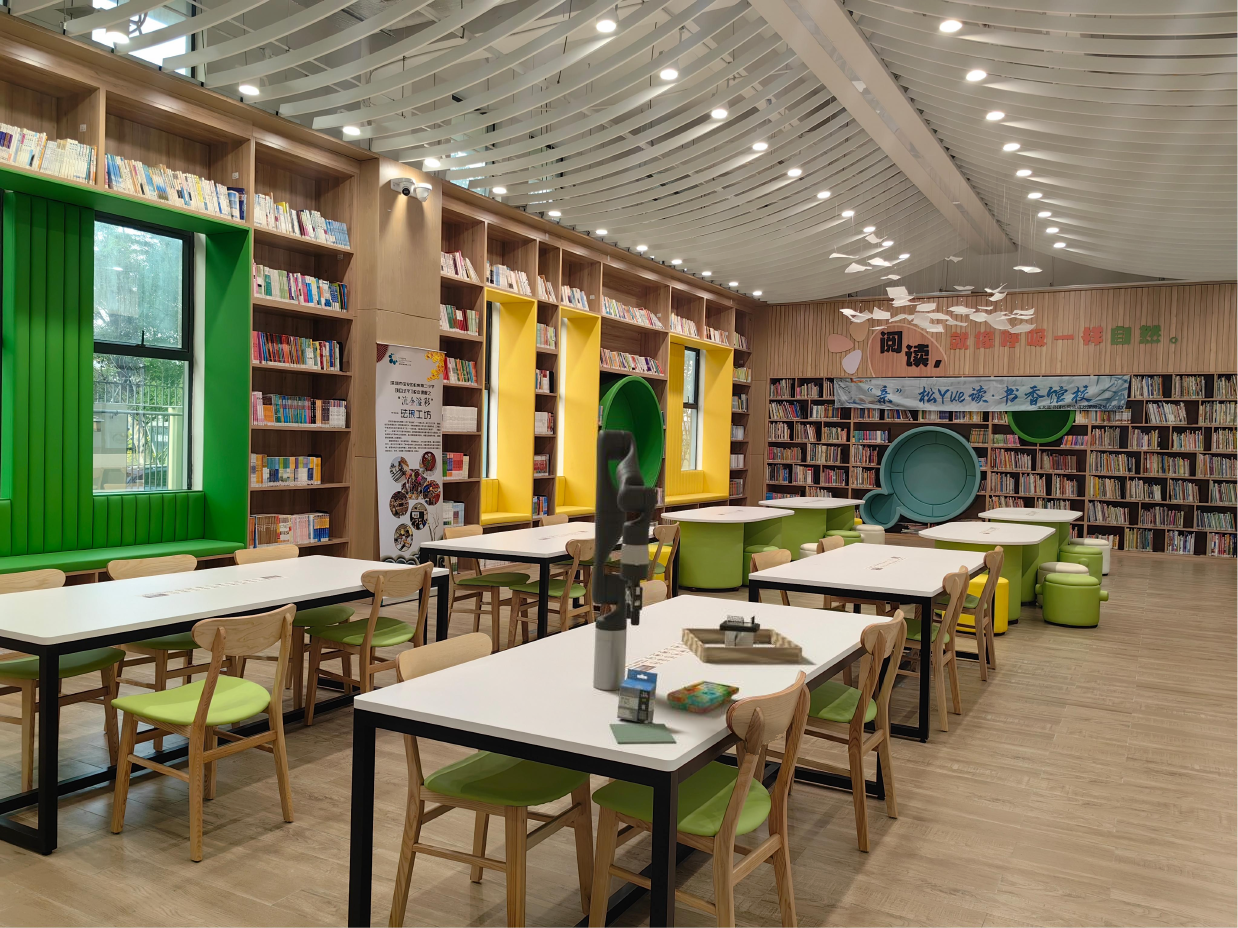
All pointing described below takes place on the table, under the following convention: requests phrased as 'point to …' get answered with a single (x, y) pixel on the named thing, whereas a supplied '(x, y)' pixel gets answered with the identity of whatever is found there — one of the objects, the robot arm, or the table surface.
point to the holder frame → (780, 653)
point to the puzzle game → (701, 696)
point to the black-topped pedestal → (739, 632)
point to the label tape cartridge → (637, 697)
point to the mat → (641, 733)
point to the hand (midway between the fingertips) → (632, 621)
